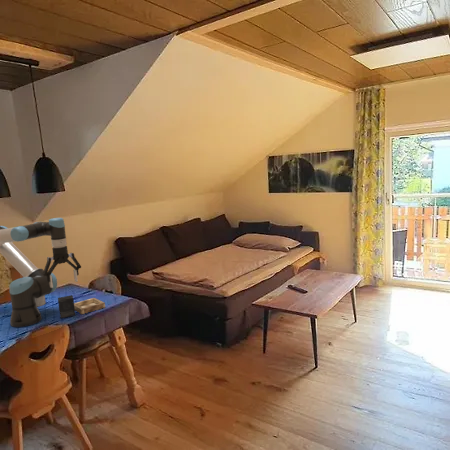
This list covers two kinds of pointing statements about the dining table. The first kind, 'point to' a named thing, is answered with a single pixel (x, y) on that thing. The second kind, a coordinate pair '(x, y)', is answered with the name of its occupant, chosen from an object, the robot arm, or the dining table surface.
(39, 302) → the engine component
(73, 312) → the box
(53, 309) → the dining table surface
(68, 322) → the dining table surface
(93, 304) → the socket tray
